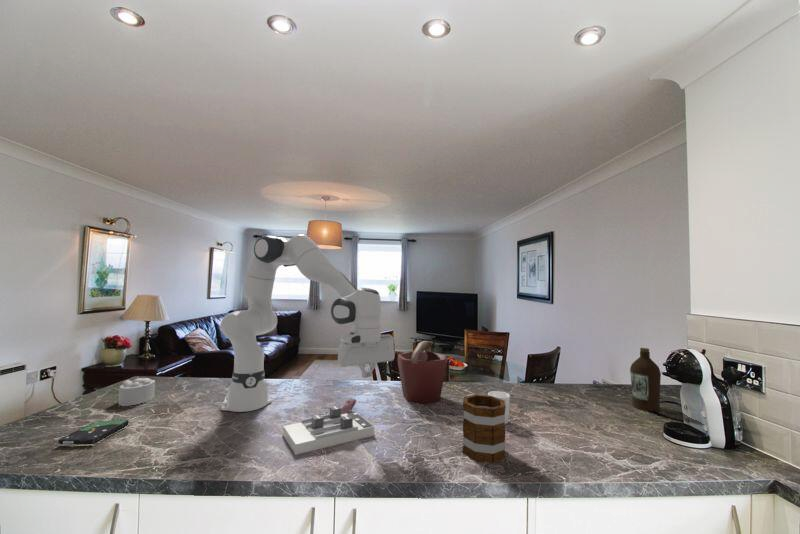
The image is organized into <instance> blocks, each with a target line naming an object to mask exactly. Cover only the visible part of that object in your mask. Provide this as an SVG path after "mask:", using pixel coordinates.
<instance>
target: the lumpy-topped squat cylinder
mask: <svg viewBox="0 0 800 534" xmlns="http://www.w3.org/2000/svg"><path fill="white" fill-rule="evenodd" d="M155 389H156V380H155V379H151V378H148V377H142V378H141V377H140V378H135V379H134V380H130V379H127V380H124V381H123V382H122V384H121V385H120V386H119V389H118V391H119V392H118V404H119V405H121V406H129V405H135V404H139V405H141V404H140V403H143V402H146V401H148V400H150V399H152V398H153V397H154V398H155V393H156V392H155ZM154 398H153V399H154ZM153 399H152V400H153ZM150 401H151V400H150ZM148 402H149V401H148ZM146 403H147V402H146ZM143 404H144V403H143ZM119 405H118V406H119Z"/></svg>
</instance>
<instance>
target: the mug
mask: <svg viewBox="0 0 800 534" xmlns="http://www.w3.org/2000/svg"><path fill="white" fill-rule="evenodd" d="M462 406H463V421H462V435H463V440H462V441H463V444H462V445H463V446H462V454H463V455H464V456H467V457H468V458H469V459H471V460H472V461H475V462H481V463H482V462H484V463H488V462H489V464H495V463H498V462H501V461H503V460H505V459H506V450H505V448H506V445H505V444H506V443H505V442H506V424H505V408H506V406H505V401H504V400H501V399H499V398H496V397H493V396H488V394H487V395H485V394H474V393H470V394H467V395H465V396H463V400H462Z"/></svg>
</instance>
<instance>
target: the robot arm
mask: <svg viewBox="0 0 800 534" xmlns="http://www.w3.org/2000/svg"><path fill="white" fill-rule="evenodd" d="M280 266H283V267H294V266H296V268H297V269H298V271H299V272H300V273H301V274H302V276H304V277H305V278H306V279H308V280H310V281H312V282H316V283H321V284H324V285H326V286H328V287H331V288H332V289H333V290H335V291H336V292H337V293H338V294H339V296H340V297H339V298H336V299H335V300H334V301H333V302H332V304H331V307H330V313H331V315H330V316H331V318H332V320H333V321H334V322H335V323H336V324H338V325H342V326H344V325H345V326H346V325H354V329H353V330H352V331H348V332H347V333H344V334H342V335H341V336H340V341H341V343H340V345H339V347H338V353H337V363H338V364H339V366H340V367H342V368H343V367H344V368H345V367H346V368H347V367H355V366H358V367H359V369H360V371H361V376H362V378H363V379H364V378H370V377H373V370H374V369H375V368H376V364H379V363H387V362H393V361H394V359H395V358H396V357H395V356H396V355H395V354H396V353H395V346H394V344H395V338H394V337H393V335H391V334H390V333H387V334H382V333H381V332H382V329H381V327H382V326H381V322H380V321H381V317H382V302H381V295H380V293H379V291H377V290H376V289H374V288H368V287H360V288H357V287H355V286H354V285H353V283H351V281H350V280H349V279H348V278H347V277H346V276H345V275H344V274H343V273H342V272H341V271H340V270H339V269H338V267H336V265H334V263H333V262H331V260H330V259H329V258H328V257H327V256H326V254H325V253H324V252H323V250H322V249H321V248H320V247H319V246H318V245H317V243H315V241H313V239H311V238H310V237H309V236H308V235H306V234H296V235H294V236H292V237H291V238H287V237H285V236H284V237H282V236H273V235H262V236H260V237H259V238H258V239H256V240H255V243H254V246H253V254H252V256H251V259H250V260H249V263H248V266H247V270H246V272H245V273H246V274H245V278H244V283H243V287H242V288H243V289H242V295H243V296H244V298H245V299H247V303H248V304H247V305H248V308H247V309H243V310H236V311H232V312H230V313H227V314H225V315H224V316H223V318H222V319H221V322H220V329H221V332H222V334H223V336H225V338H227V339H228V340H229V341H230V343H231V346H232V349H233V353H234V354H233V355H234V356H233V357H234V359H233V360H234V362H233V364H234V365H233V371H232V375H231V378H232V379H231V380H232V382H231V384H230V385H229V387H228V388H225V395H226V396H225V397H224V400H223V402H222V405H221V407H220V409H221V411H230V412H234V413H235V412H236V413H237V412H238V413H242V412H251V411H256V410H259V409H262V408H264V407H265V406H266V405H269V404H271V403H272V402H273V400H272V399H271V398H270V397H269V383H268V382H267V381H266V380H265V373H266V372H265V369H264V365H265V364H264V361H265V350H264V349H263V348H262V347H261V346H259V343H258V341H257V336H261V335H265V334H268V333H269V332H272V331H273V330H275V329H276V328H277V325H278V316H277V314H276V313H275V312H274V309H273V305H272V294H273V289H274V284H275V279H276V273H277V271H278V269H279V267H280ZM366 365H368V366H369V368H368V369H367V370H366V369H365V368H366Z"/></svg>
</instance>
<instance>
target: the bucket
mask: <svg viewBox="0 0 800 534" xmlns="http://www.w3.org/2000/svg"><path fill="white" fill-rule="evenodd" d="M433 344H434V341H432V340H422V341H420V342H418V344H417V345H416V347H415V349H414V350H413V351H407V352H402V353H400V354H397V366H398V371H399V378H400V384H401V390H402V395H403V398H404V397H405V398H404V399H405V400H406V401H407V403H410V402H412V403H411V404H417V403H418V405H424V406H425V405H431V404H436V403H437V402H438V403H440V401H441V397H442V396H441V395H442V391H443V390H442V389H443V386H444V378H445V374H446V369H447V364H448V363H447V362H448V355H447V354H443V353H439V352H434V351H432V350H431V347H432V345H433ZM422 350H423V351H422Z"/></svg>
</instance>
